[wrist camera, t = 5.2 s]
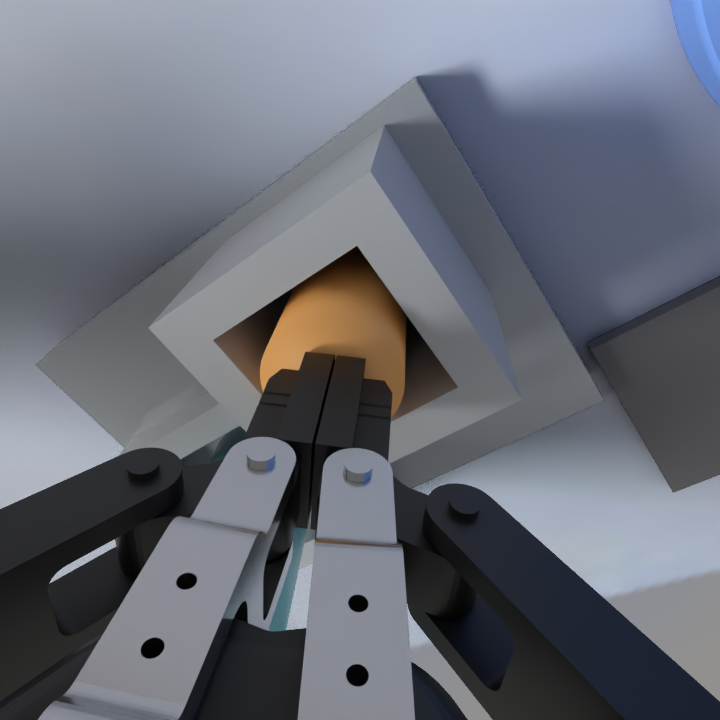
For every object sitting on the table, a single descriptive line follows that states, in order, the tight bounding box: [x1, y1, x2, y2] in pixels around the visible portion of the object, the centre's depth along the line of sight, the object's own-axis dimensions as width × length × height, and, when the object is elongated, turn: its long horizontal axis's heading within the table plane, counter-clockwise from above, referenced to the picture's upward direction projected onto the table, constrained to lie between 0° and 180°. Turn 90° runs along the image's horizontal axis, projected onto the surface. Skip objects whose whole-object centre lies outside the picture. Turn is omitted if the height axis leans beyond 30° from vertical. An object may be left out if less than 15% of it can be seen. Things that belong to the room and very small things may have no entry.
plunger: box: [260, 246, 407, 418], centre depth 16 cm, size 4×4×5 cm
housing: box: [35, 77, 604, 569], centre depth 22 cm, size 14×19×9 cm
